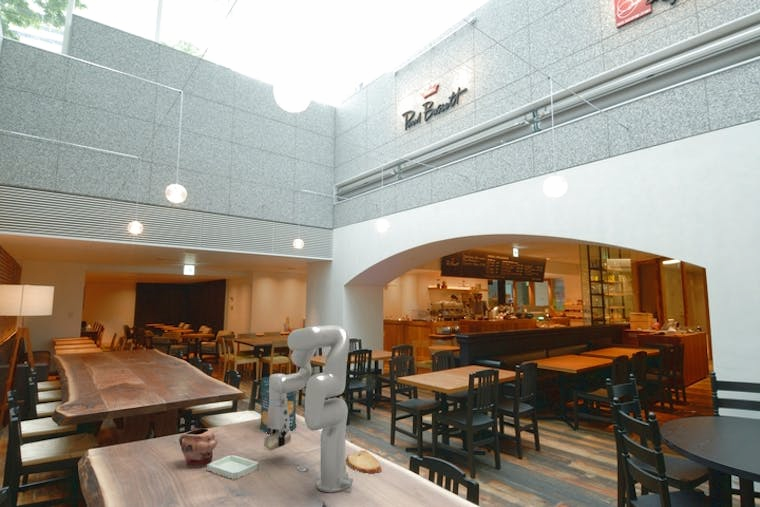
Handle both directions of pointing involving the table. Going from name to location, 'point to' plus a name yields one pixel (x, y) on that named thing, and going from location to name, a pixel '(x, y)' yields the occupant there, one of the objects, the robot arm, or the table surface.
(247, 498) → the table surface
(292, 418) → the donation box
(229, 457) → the tray
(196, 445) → the decorative planter
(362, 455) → the tan flat crusted slab
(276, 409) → the robot arm
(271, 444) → the birch block
